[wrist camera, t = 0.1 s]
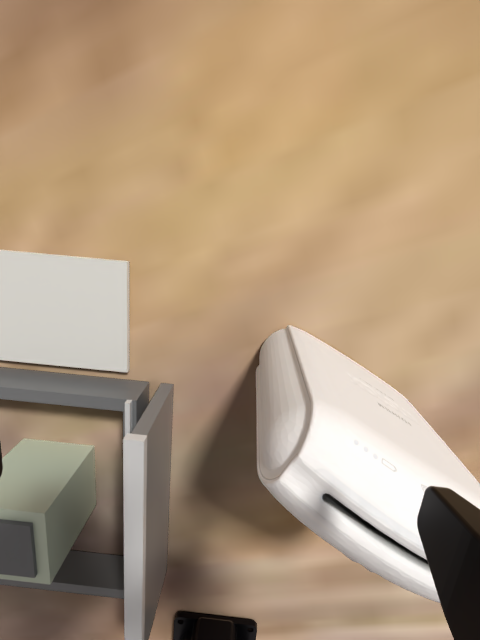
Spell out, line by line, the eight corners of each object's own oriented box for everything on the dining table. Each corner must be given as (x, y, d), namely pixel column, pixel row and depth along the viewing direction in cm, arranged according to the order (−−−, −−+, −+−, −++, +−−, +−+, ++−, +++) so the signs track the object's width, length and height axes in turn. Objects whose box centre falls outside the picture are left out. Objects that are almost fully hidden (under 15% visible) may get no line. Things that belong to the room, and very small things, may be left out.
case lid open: (168, 571, 27) (141, 675, 21) (147, 568, 27) (114, 671, 21) (175, 381, 23) (144, 441, 17) (150, 379, 23) (110, 438, 17)
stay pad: (129, 370, 23) (127, 372, 23) (-22, 355, 23) (-27, 357, 23) (129, 261, 21) (126, 262, 21) (-36, 246, 21) (-41, 246, 21)
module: (96, 504, 26) (47, 589, 20) (29, 497, 26) (-39, 578, 20) (94, 445, 25) (41, 517, 19) (24, 438, 25) (-51, 507, 19)
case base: (146, 566, 27) (133, 606, 25) (-14, 548, 28) (-45, 585, 25) (149, 381, 23) (134, 403, 20) (-40, 363, 23) (-81, 382, 21)
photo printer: (418, 398, 23) (598, 598, 11) (374, 446, 24) (493, 676, 12) (284, 310, 21) (318, 422, 10) (245, 365, 22) (231, 527, 11)
